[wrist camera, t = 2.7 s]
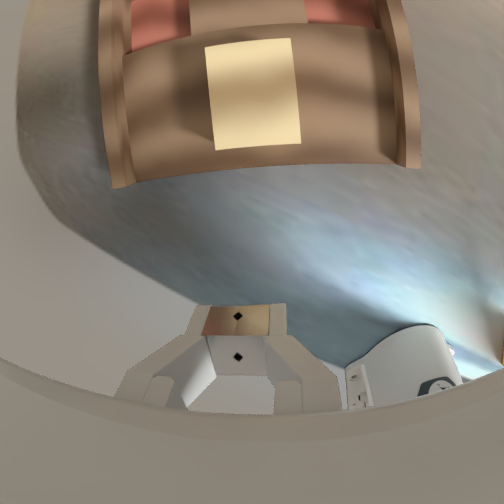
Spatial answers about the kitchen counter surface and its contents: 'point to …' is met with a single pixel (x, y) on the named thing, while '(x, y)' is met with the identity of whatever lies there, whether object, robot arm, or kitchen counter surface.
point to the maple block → (253, 93)
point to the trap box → (306, 75)
